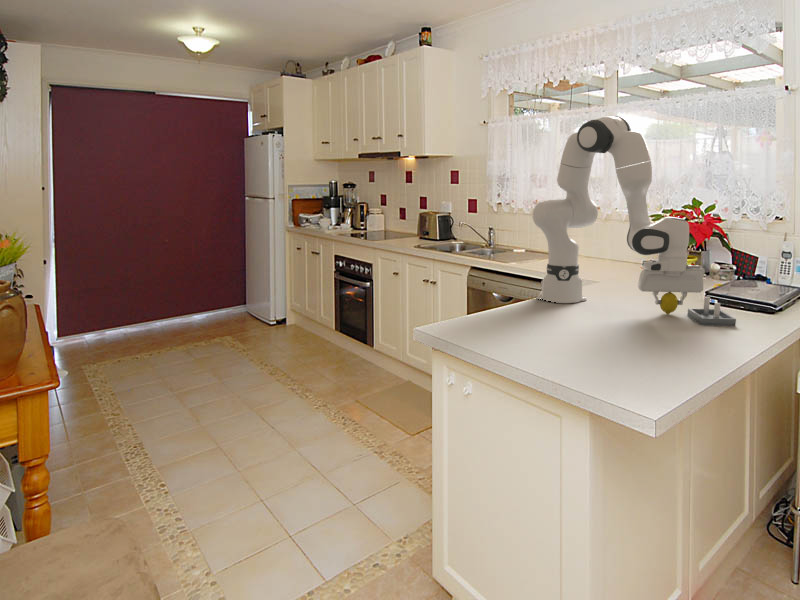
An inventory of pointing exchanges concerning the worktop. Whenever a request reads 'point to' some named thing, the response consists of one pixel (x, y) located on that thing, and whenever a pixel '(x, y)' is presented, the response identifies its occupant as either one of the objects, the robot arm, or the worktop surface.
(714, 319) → the tray
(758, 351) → the worktop surface
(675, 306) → the lemon
